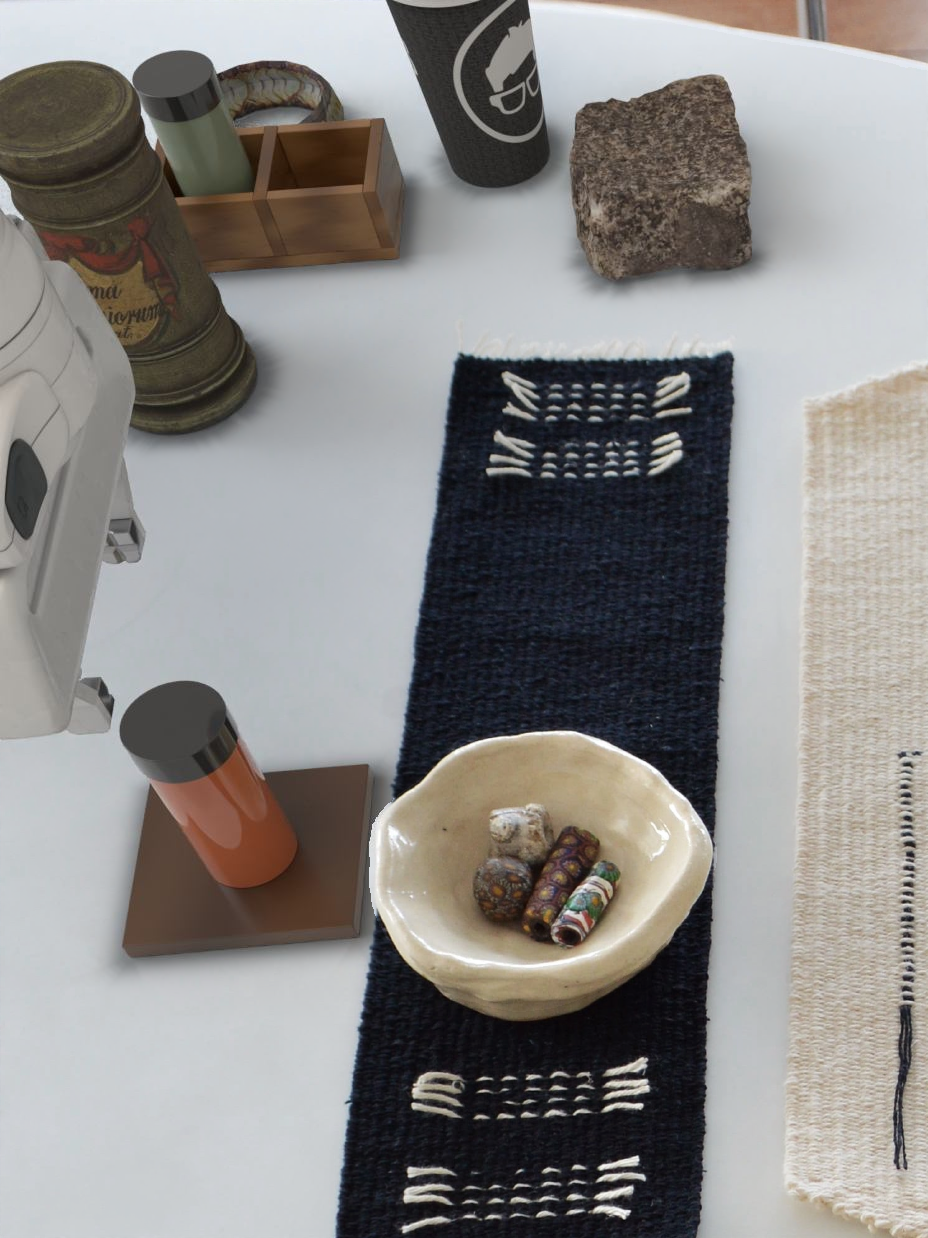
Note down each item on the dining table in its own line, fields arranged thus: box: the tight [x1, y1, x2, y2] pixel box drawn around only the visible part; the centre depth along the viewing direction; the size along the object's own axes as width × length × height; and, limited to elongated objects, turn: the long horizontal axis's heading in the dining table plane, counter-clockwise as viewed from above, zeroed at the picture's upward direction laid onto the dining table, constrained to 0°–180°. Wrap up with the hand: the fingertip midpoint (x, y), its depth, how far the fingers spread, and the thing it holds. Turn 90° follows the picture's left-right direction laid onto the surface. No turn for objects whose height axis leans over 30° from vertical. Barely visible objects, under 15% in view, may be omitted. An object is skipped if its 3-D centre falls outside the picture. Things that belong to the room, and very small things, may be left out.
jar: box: [131, 49, 256, 197], centre depth 113 cm, size 5×5×10 cm
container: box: [0, 59, 258, 435], centre depth 103 cm, size 9×9×18 cm
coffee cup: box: [385, 0, 551, 188], centre depth 115 cm, size 10×10×15 cm
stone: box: [568, 73, 753, 281], centre depth 116 cm, size 11×13×6 cm
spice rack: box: [154, 117, 407, 274], centre depth 116 cm, size 14×7×5 cm, turn 96°
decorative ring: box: [217, 60, 345, 124], centre depth 121 cm, size 10×3×10 cm
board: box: [121, 763, 375, 958], centre depth 92 cm, size 11×10×1 cm
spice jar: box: [118, 680, 298, 888], centre depth 87 cm, size 5×5×10 cm
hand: (110, 633), depth 78 cm, fingers open, 8 cm apart
